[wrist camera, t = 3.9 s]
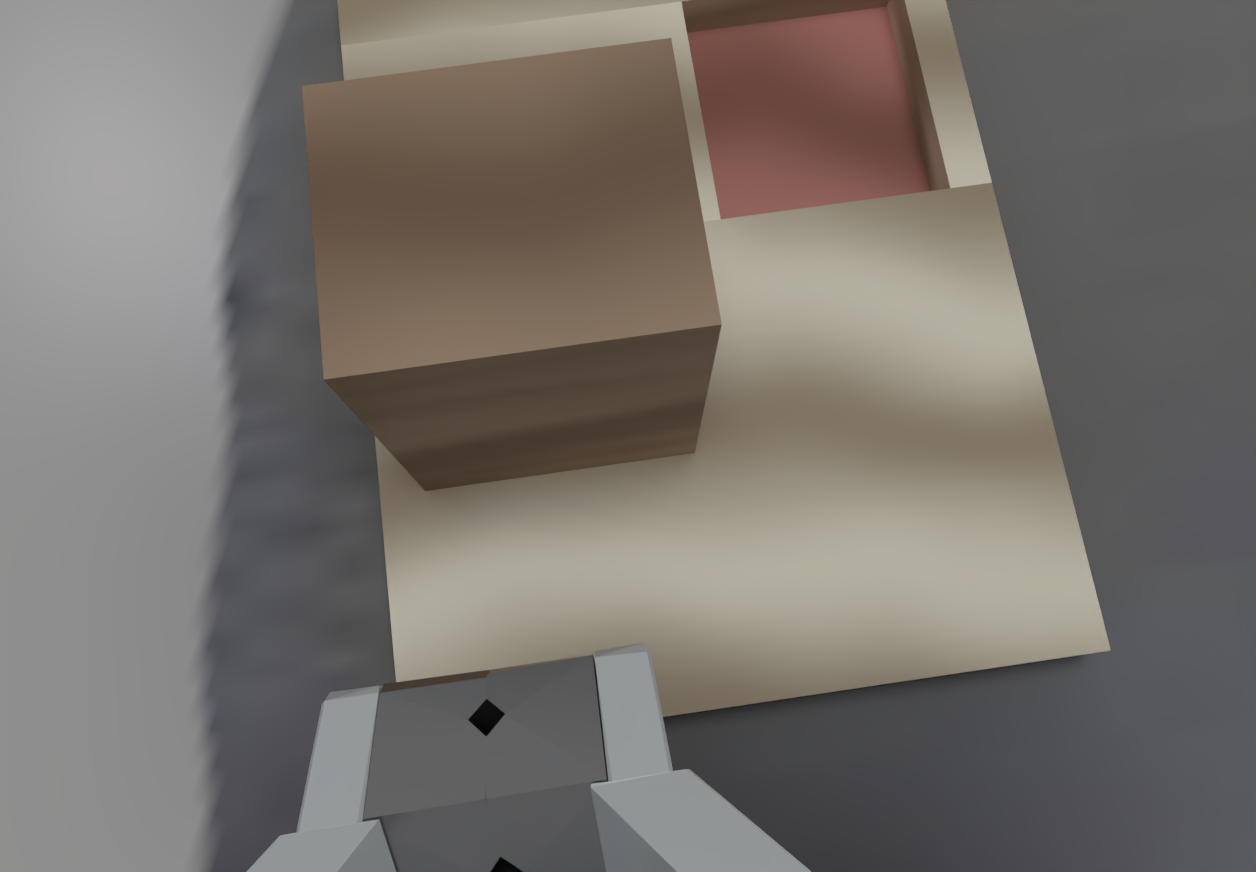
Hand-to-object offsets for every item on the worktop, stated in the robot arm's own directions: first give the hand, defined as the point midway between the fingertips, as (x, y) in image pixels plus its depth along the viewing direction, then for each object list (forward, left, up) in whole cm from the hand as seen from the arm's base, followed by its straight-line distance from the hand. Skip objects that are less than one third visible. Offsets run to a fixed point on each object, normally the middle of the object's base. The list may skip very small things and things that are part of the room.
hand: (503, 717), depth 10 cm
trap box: (+15, -4, -14) cm, 21 cm away
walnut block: (+8, 0, -13) cm, 15 cm away
